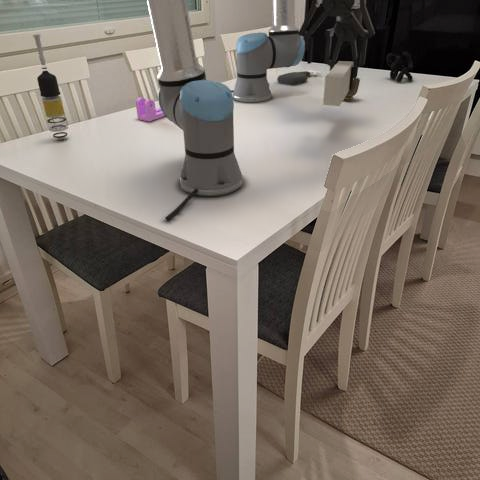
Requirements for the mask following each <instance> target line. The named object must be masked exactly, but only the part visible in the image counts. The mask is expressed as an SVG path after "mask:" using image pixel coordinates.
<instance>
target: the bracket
mask: <svg viewBox="0 0 480 480" xmlns="http://www.w3.org/2000/svg"><path fill="white" fill-rule="evenodd" d="M135 107H136V115H137V119H138V120H141V121H145V122H152V121H154V120H155V121H156V120H157V119H161V118H163V117H166V116H165V115H164V114H163V112H162V110H161V108H160V107H158V108H156V103H155V100H153V99H150V98H148V99H145V97H137V98H136V101H135Z"/></svg>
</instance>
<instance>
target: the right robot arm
mask: <svg viewBox="0 0 480 480" xmlns="http://www.w3.org/2000/svg"><path fill="white" fill-rule="evenodd" d="M351 10H352V12H353V13H354V15H355V17H356V18H357V20H358V21H359V22H360V24H361V25H362V21H363V16H362V13H361V10H360V7H358V6H357V4H356V3H355V4H354V5H353V6H352V8H351ZM271 21H272V22H271V27H270V29H268V34H267V32H252V33H247V34H244V35H243V34H242V35H241V36H240V37H238V38H237V40H236V48H235V53H236V82H235V85H234V89H232V90H231V89H230V90H231V92H232V98H233V101H237V102H240V103H247V104H248V103H250V104H251V103H263V102H267V101H269V100H271V99H272V92H271V89H270V83H269V81H268V75H267V74H268V70H272V69H280V68H281V69H282V68H290V67H296V66H298V65H300V64H301V61H302V60H303V58H304V56H305V51H306V50H305V38H304V37H303V36H300V35H299V34H298V33H299V31H300V29H299V28H298V26H297V25H296V0H271ZM364 30H365V31H366V33H368V30H367V29H364ZM324 34H325V39H326V41H325V52H324V64H325V65H326V66H329V72H330V71H331V70H332V68H333V67H334V66H335V65H336V63H337V59H338V56H339V53H340V50H341V47H342V44H343V43H345V42H348V43H350V49H351V55H352V62H353V67H352V68H351V75H350V84H349V90H351V89H352V86H353V79H354V78H355V79H356V78H358V73H359V68H360V67H363V66H364V65H365V64H366V55H367V47H368V44H367V45H366V50H365V52H362V54H361V63H360V65H359V66H356V64H357V54H358V46H357V38H358V36H360V34H359V33H358V31H357V30H356V28H355V27H354V25H353V24H352V23H351V21H350V20H349V18H348V17H347V16H346V15H345V16H343V17H339V16H335V24H334V26H333V28H329V29H326V30H325V32H324ZM334 34H335V35H336V37H337V41H336V45H335V48H334V51H333V54H332V57H331V51H332V50H331V49H332V41H333V40H332V38H333V36H334ZM368 39H369V38H368ZM368 39H367V41H368Z"/></svg>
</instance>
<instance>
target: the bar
mask: <svg viewBox="0 0 480 480" xmlns="http://www.w3.org/2000/svg"><path fill="white" fill-rule="evenodd" d="M352 67H354V64H353V61H346V60H345V61H344V60H343V61H342V60H339V61H337V62H336V63H335V66H334V67H333V68H332V70H331V71H330V70H329V71H328V73H327V74H326V75H325V76H324V89H323V102H322V106H331V107H341V104H342V103H343V102H344V101H345V100H344V98H345V96H346V95H347V93H348V91H349V84H350V75H351V68H352Z"/></svg>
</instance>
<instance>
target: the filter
mask: <svg viewBox="0 0 480 480" xmlns="http://www.w3.org/2000/svg"><path fill="white" fill-rule="evenodd" d="M32 37H33V38H34V41H35V46H36V48H37V51H38V58H39V61H40V64H41V66H44V67H42V68H41V69H42V72H41V73H40V74H39V75H38V76H37V77H36V80H37V84H38V88H39V93H40V97H42V98H41V101H42V104H43V108H44V112H45V117H46V118H49V119H47V120H46V122H47V123H48V124H53V125H50V126H49V127H48V130H49V131H50V132H53V134H52V137H53V138H55V139H58V140H64V138H66V137H67V136H68V133H67V132H65V131H66V130H69V125H68V124H66V123H63V122H65V121H67V118H66V117H64V116H65V115H66V114H65V110H64V106H63V100H62V97H61V91H60V88H59V82H58V79H57V76H56V75H55V74H53V73H51V72H50V71H49V70H47V69H48V67H45V66H47V65H46V58H45V55H44V52H43V48H42V42H41V34H38V33H37V34H32ZM56 119H62V120H58V121H52V120H56ZM60 134H62V135H60ZM63 134H64V135H63ZM57 135H58V136H57Z"/></svg>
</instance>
